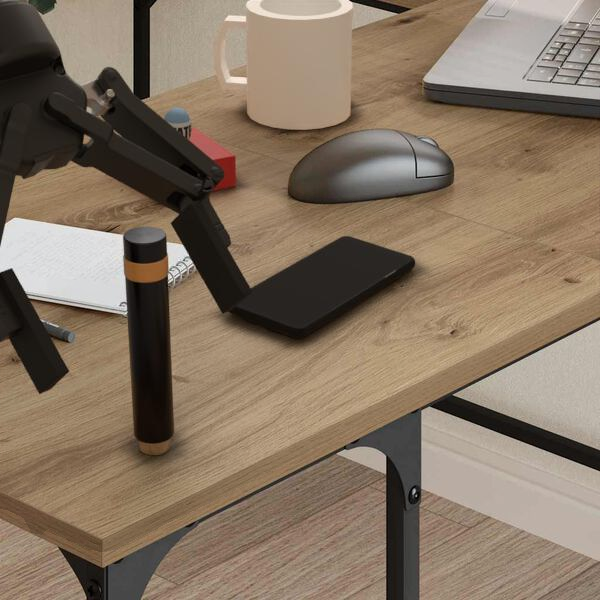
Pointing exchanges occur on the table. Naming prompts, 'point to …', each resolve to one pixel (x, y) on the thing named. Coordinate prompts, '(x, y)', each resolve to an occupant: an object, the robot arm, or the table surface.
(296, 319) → the smartphone
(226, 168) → the red rectangular block
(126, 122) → the robot arm
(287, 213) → the table surface
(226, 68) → the mug
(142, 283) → the marker
